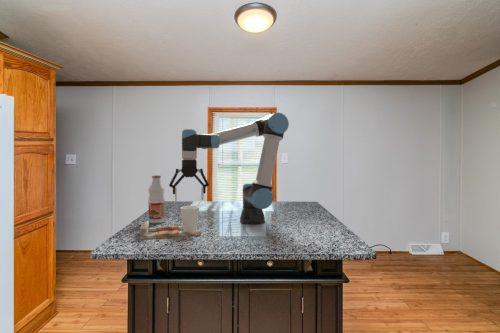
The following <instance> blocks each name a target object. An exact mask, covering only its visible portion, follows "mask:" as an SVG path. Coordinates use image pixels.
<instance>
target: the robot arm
mask: <svg viewBox="0 0 500 333" xmlns="http://www.w3.org/2000/svg"><path fill="white" fill-rule="evenodd" d="M289 124H290V123H289V120H288V117H287V116H286V115H285V114H284V113H281V112H273V113H270V114H268V115H265V116H264V117H261V118H259V119H257V120H254V121H252V122H251V123H247V124H243V125H240V126H236V127H233V128H228V129H224V130H220V131H217V132H213V133H198V131H197V130H196V129H191V128H190V129H189V128H188V129H183V130H182V131H181V159H182V160H181V169H180V168H176V169H175V172H174V175H173V176H172V178H171V181H170V182H169V184H168V186H169V188H172V194H173V195H174V201H175V202H176V201H177V200H178V199H177V198H178V194H177V192H178V188H177V186H178V185H179V183H180V182H181V181H182V180H183V179H184V178H195V179H196V180H197V181H198V183H199V184H200V185H201V187H200V188H201V193H200V194H201V195H200V196H201V201H204V194H206V188H207V187H209V186H210V184H209V182H208V180H207V178H206V176H205V174H204V170H203V168H197V165H198V164H197V163H198V162H197V157H198V156H197V154H198V153H197V151H198V149H202V150H207V149H218V148H220V146H221V145H226V144H228V143H232V142H236V141H240V140H243V139H247V138H252V137H256V138H258V137H263V138H264V140H263V145H262V149H261V154H260V157H259V158H260V159H259V165H258V167H257V174H256V177H255V180H254V181H252V183H244V184H243V185H242V211H241V214H240V217H239V222H240V223H242V224H246V225H258V224H263V223H265V222H266V218H265V214H264V210H266V209H268V208H269V207H271V205H272V204H273V202H274V195H273V193H272V192H273V187H274V186H273V185H272V179H273V174H274V169H275V164H276V161H277V155H278V150H279V147H280V146H279V145H280V142H281V141H282V140H283V139H284V135H285V132H287V131H288V128H289ZM180 172H181V176H180V177H179V178H178V179H177V180H176V178H177V176H178V174H180ZM197 173H199V174H200V176H201V178H202V179H203V181H202V180H201V179H200V177H199V176H198V175H197ZM175 180H176V182H175ZM203 182H204V183H203Z"/></svg>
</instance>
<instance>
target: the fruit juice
mask: <svg viewBox="0 0 500 333" xmlns="http://www.w3.org/2000/svg"><path fill="white" fill-rule="evenodd" d="M151 179H152V182H151V185H150V186H149V188H148V195H149V197H148V222H149V224H162V223H165V221H166V198H165V196H164V195H165V187H164V186H163V184H162V182H161V175H152V176H151Z"/></svg>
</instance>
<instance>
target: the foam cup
mask: <svg viewBox="0 0 500 333" xmlns="http://www.w3.org/2000/svg"><path fill="white" fill-rule="evenodd" d="M199 212H200V207H199V206H198V205H197V206H196V205H183V206H181V207H180V214H181V220H182V226H183V229H184V230H183V232H197V231H198V229H197V225H198V223H199V222H198V218H199Z"/></svg>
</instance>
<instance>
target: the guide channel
mask: <svg viewBox="0 0 500 333" xmlns="http://www.w3.org/2000/svg"><path fill="white" fill-rule="evenodd" d="M199 227H200V225H198V224H197V231H196V232H184V229H183V225H181V226H178V225H172V226H171V225H170V226H169V225H168V226H158V227H150V223H149V221H142V223H141V225H140V228H139V240H151V239H163V238H166V239H167V238H179V237H191V236H193V237H194V236H202V232H201V231H202V230H201V231H199V230H198V229H200V228H199ZM182 230H183V232H179V231H182ZM150 232H151V233H152V232H158V233H156V234H155V233H154V234H149V233H150Z"/></svg>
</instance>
